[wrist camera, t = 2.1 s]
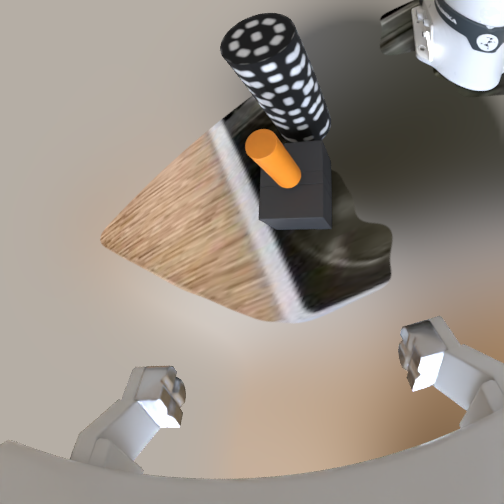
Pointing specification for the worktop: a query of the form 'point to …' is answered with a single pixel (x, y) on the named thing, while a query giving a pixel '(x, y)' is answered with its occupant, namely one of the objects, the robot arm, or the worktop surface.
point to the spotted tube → (278, 75)
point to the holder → (300, 191)
